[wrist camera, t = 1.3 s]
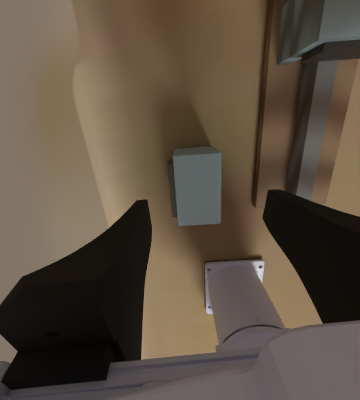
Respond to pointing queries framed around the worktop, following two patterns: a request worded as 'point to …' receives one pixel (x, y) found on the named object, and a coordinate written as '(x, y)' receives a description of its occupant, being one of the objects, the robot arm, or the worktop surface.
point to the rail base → (285, 116)
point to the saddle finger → (196, 185)
